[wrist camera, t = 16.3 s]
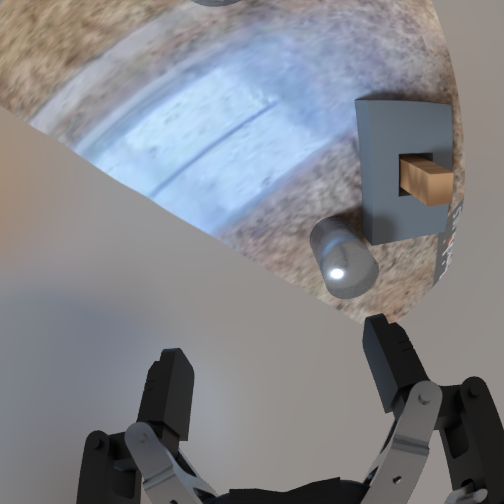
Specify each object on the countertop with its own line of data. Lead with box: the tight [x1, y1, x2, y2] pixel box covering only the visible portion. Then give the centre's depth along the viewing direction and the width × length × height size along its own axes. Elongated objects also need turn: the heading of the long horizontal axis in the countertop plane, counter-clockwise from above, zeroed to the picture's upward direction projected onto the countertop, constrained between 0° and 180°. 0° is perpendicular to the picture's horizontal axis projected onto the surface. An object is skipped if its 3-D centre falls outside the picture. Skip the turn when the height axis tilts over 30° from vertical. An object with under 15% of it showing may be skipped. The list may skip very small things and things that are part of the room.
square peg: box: [399, 153, 454, 207], centre depth 30 cm, size 4×4×10 cm
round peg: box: [310, 217, 379, 299], centre depth 36 cm, size 7×7×10 cm
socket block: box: [355, 100, 453, 246], centre depth 32 cm, size 20×14×4 cm
